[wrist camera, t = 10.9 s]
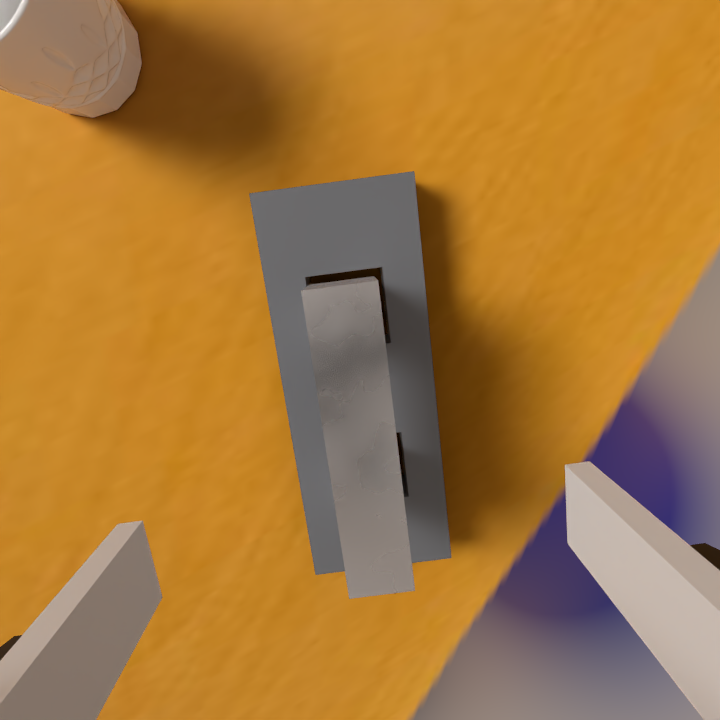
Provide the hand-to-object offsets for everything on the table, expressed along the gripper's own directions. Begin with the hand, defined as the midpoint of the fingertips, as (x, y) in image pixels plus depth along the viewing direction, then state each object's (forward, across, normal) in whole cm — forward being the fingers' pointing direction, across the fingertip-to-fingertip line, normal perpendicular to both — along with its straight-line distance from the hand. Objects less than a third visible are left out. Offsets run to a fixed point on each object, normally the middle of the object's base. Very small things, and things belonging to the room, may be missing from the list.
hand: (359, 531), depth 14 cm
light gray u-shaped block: (+17, 0, 0) cm, 17 cm away
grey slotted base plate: (+17, 0, 0) cm, 17 cm away
